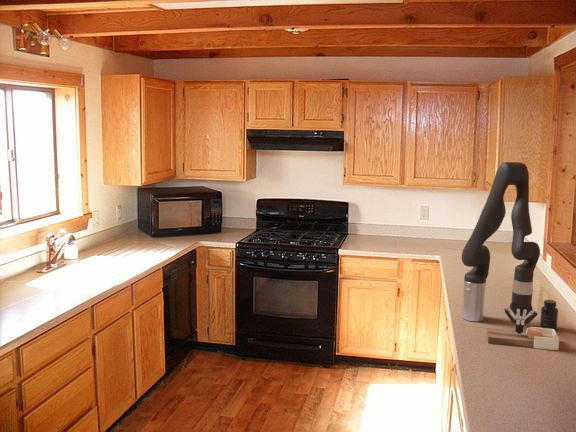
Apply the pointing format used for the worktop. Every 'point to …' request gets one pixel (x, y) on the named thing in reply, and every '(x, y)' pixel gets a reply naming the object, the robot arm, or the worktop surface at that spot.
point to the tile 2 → (547, 336)
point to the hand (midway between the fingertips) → (518, 333)
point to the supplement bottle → (549, 315)
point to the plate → (508, 338)
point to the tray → (546, 339)
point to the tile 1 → (533, 333)
